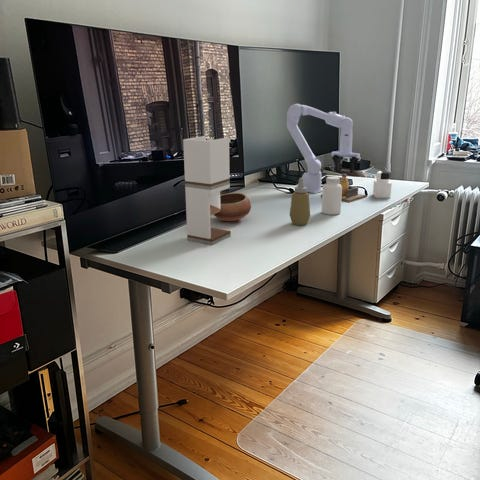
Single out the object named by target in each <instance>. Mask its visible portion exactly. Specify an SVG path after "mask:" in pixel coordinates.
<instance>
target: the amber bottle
mask: <svg viewBox="0 0 480 480" xmlns="http://www.w3.org/2000/svg"><path fill="white" fill-rule="evenodd" d="M347 177H348V176H347V173H341V178H340V181H339V183H338V184H340V185H341V186H342V196H346V190H348V187H349V186H350V185H349V183H350V182H349V180H348V179H347Z"/></svg>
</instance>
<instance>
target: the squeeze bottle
mask: <svg viewBox="0 0 480 480" xmlns="http://www.w3.org/2000/svg"><path fill="white" fill-rule="evenodd" d="M290 200H291V201H290V209H289V218H290V221H291V224H292V225H295V226H305V225H307V224H308V222H309V221H310V220H309V219H310V217H311V205H310V193H309V192H307V187H304V183H303V178H302V177H299V179H298V183H297V186H295V187H294V192H293V193H292V194H291V199H290Z"/></svg>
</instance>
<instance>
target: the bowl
mask: <svg viewBox="0 0 480 480" xmlns="http://www.w3.org/2000/svg"><path fill="white" fill-rule="evenodd" d="M220 209H221V210H220V211H219V212H217V213H215V214H213V215H212V216H214V217H215V218H216V219H218V220H220V221H223V222H225V221H226V222H236V221H239V220H241V219H244V217H246V216H248V214H249V213H250V212H251V209H252V205H251V201H250V199H249V197H248V196H247V195H246V194H245V193H243V192H229V193H224V194H223V193H222V194H220Z"/></svg>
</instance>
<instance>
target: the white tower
mask: <svg viewBox="0 0 480 480" xmlns="http://www.w3.org/2000/svg"><path fill="white" fill-rule="evenodd" d="M206 138H207V137H206V136H205V135H202V136H196V137H190V138H184V139H182V141H183V142H182V144H183V145H182V146H183V162H184V164H183V166H184V189H185V209H186V210H185V213H186V214H185V215H186V233H187V234H186V235H187V241H189V242H195V243H199V244H204V245H205V244H206V245H209V246H213V245H215V244H218V243H219V242H222V241H224V240H226V239H228V238H231V230H226V229H223V228H222V229H221V228H215V227H212V226H211V216H214V215H213V214H215V213H217V212H219V211H220V210H221V209H220V195H221V192H222V191H225V190H228V189H230V188H231V187H230V186H231V183H230V182H231V181H230V179H231V178H230V177H231V175H230V137H223V138H216V139H206Z"/></svg>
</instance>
